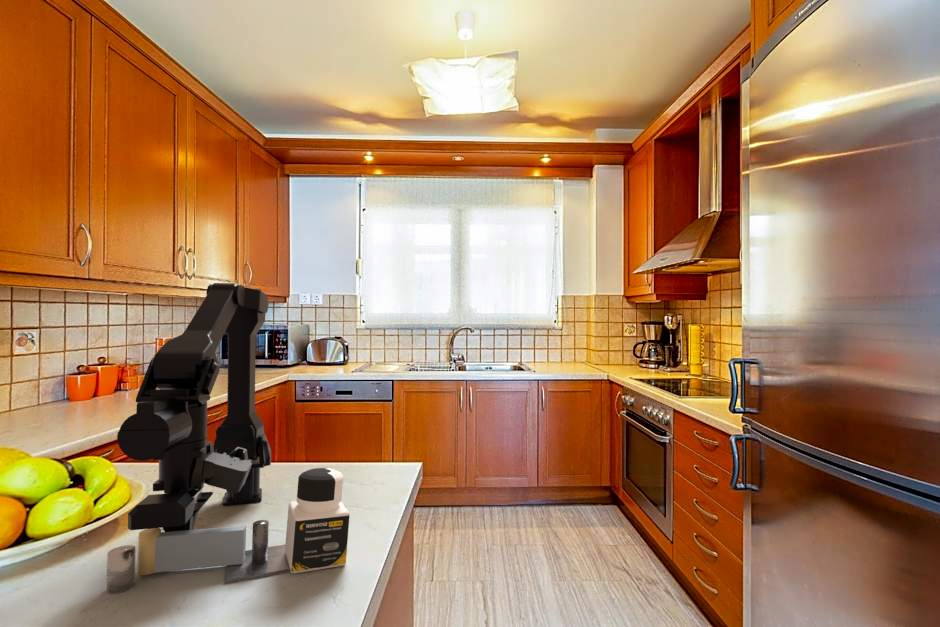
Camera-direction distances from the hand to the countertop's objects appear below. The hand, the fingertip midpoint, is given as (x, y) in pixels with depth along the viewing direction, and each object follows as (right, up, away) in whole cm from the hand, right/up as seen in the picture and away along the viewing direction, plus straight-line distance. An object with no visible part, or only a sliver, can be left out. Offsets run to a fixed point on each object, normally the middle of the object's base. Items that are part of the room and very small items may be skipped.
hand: (182, 552), depth 66 cm
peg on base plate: (+11, -1, 0) cm, 11 cm away
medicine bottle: (+18, -1, +1) cm, 18 cm away
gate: (+3, -1, -2) cm, 4 cm away
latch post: (-4, -1, -7) cm, 8 cm away
